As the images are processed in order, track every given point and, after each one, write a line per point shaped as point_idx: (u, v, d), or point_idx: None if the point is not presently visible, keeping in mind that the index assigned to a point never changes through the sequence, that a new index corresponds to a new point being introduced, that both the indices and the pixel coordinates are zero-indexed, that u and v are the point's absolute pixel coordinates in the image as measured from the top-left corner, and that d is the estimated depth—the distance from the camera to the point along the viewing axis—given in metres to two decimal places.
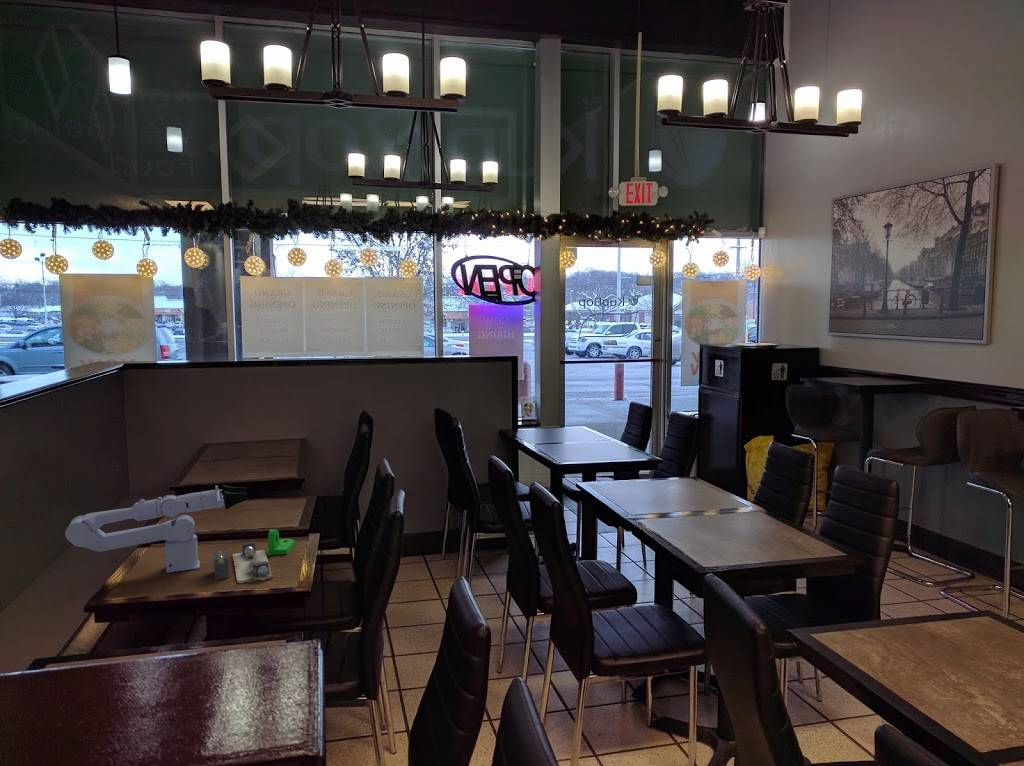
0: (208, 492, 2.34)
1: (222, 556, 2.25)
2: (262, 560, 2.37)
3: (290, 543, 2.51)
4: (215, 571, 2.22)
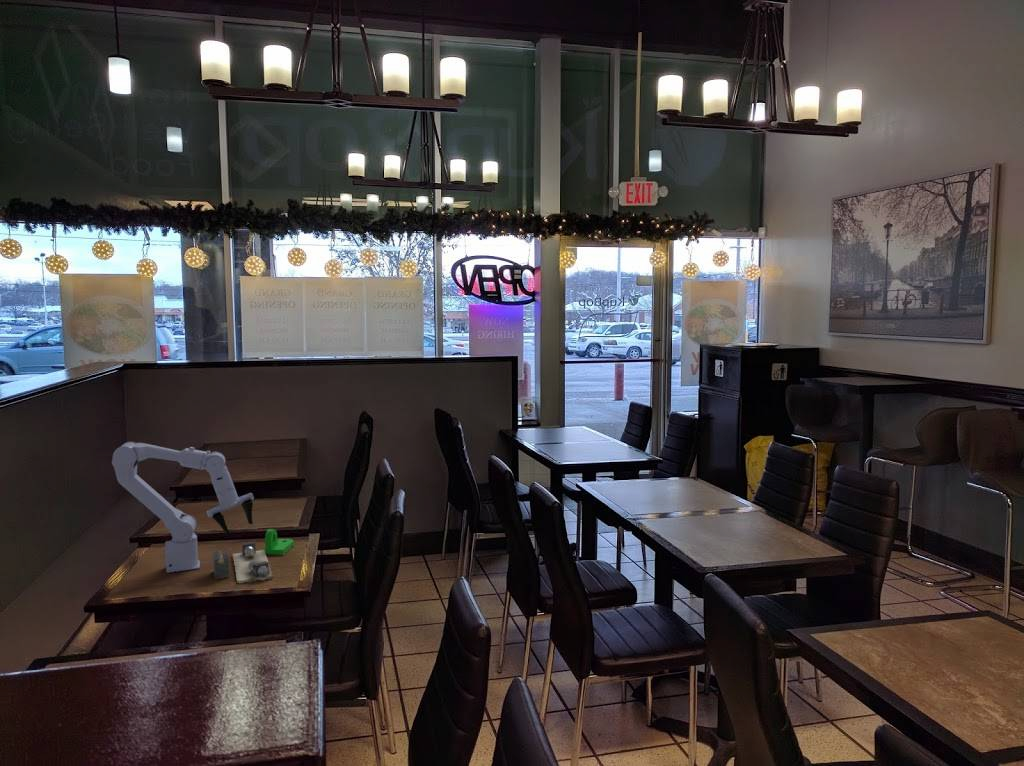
0: (226, 497, 2.33)
1: (222, 556, 2.25)
2: (262, 560, 2.37)
3: (288, 543, 2.51)
4: (215, 571, 2.22)
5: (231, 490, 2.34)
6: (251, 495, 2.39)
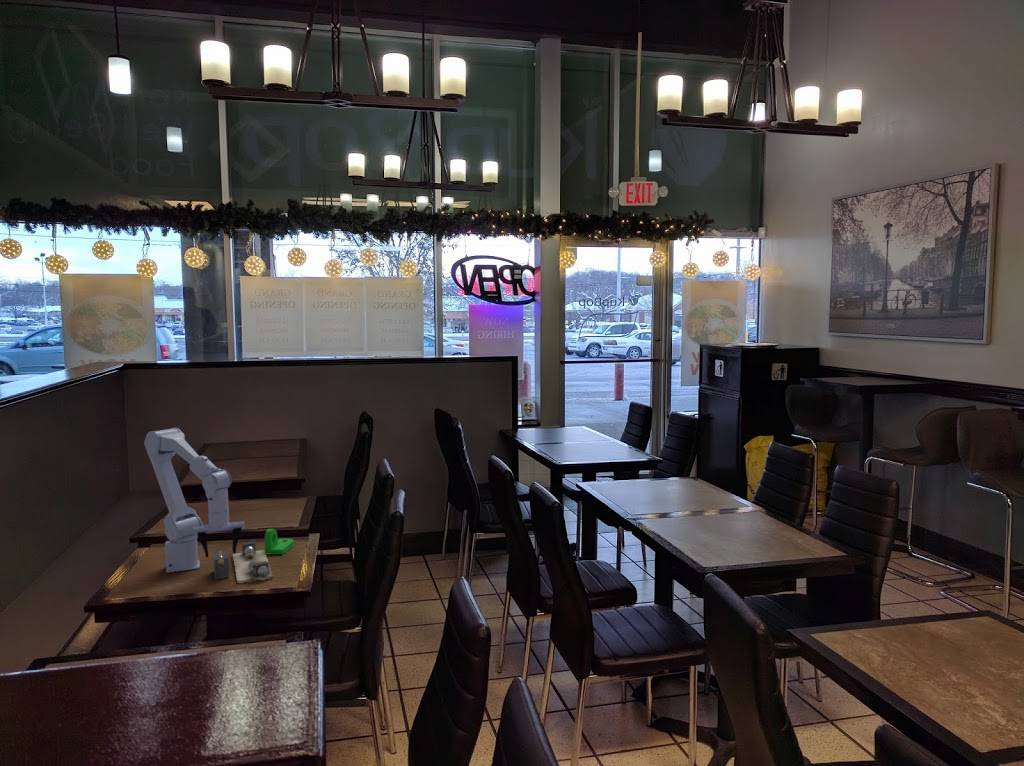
0: (215, 520, 2.22)
1: (222, 556, 2.25)
2: (262, 560, 2.37)
3: (288, 543, 2.51)
4: (215, 571, 2.22)
5: (223, 514, 2.23)
6: (243, 524, 2.27)
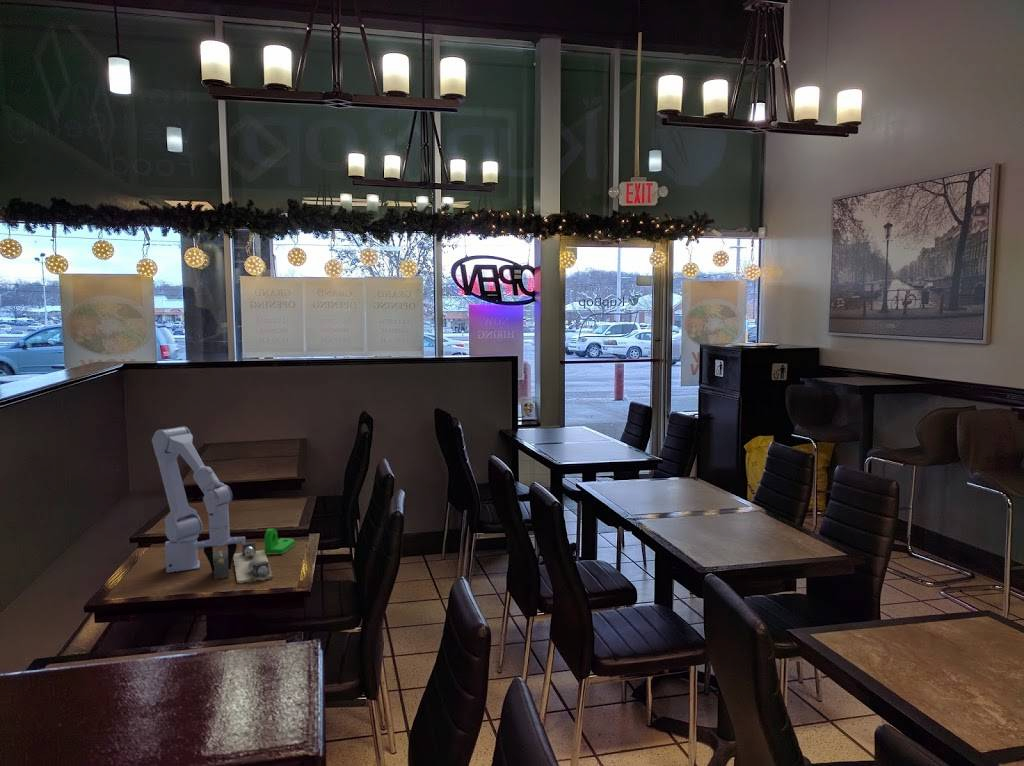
0: (215, 535, 2.23)
1: (222, 556, 2.25)
2: (262, 560, 2.37)
3: (288, 543, 2.51)
4: (215, 571, 2.22)
5: (223, 529, 2.23)
6: (243, 540, 2.27)
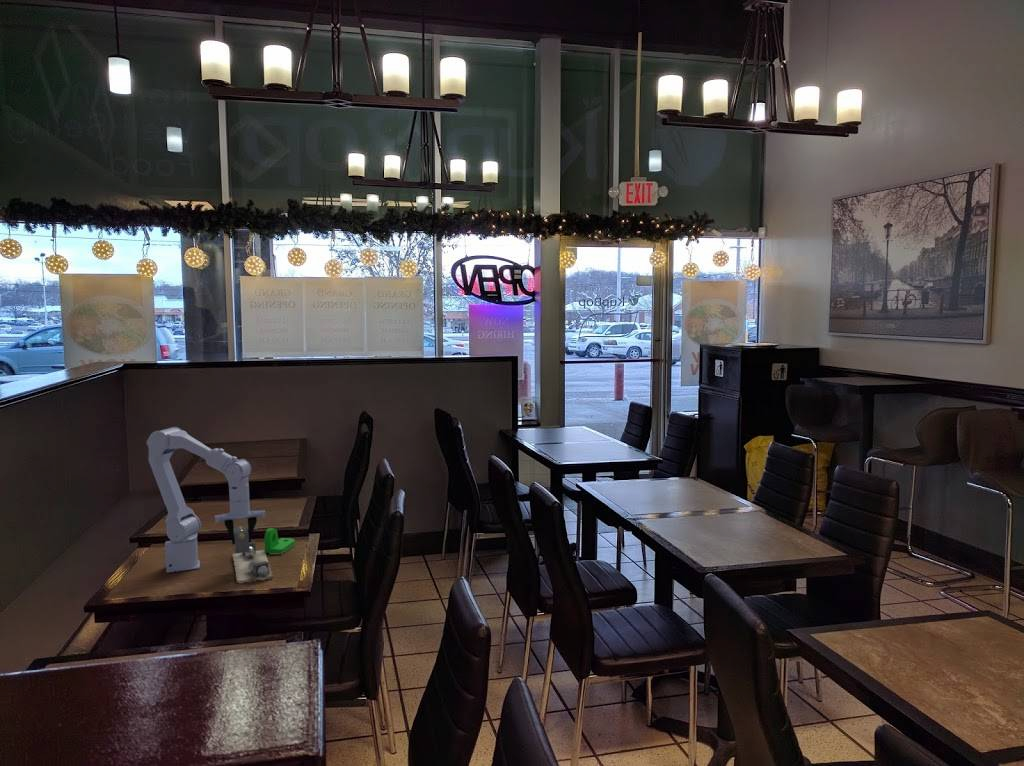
0: (236, 508, 2.26)
1: (243, 531, 2.28)
2: (262, 560, 2.37)
3: (289, 543, 2.52)
4: (236, 545, 2.26)
5: (244, 503, 2.27)
6: (263, 513, 2.31)
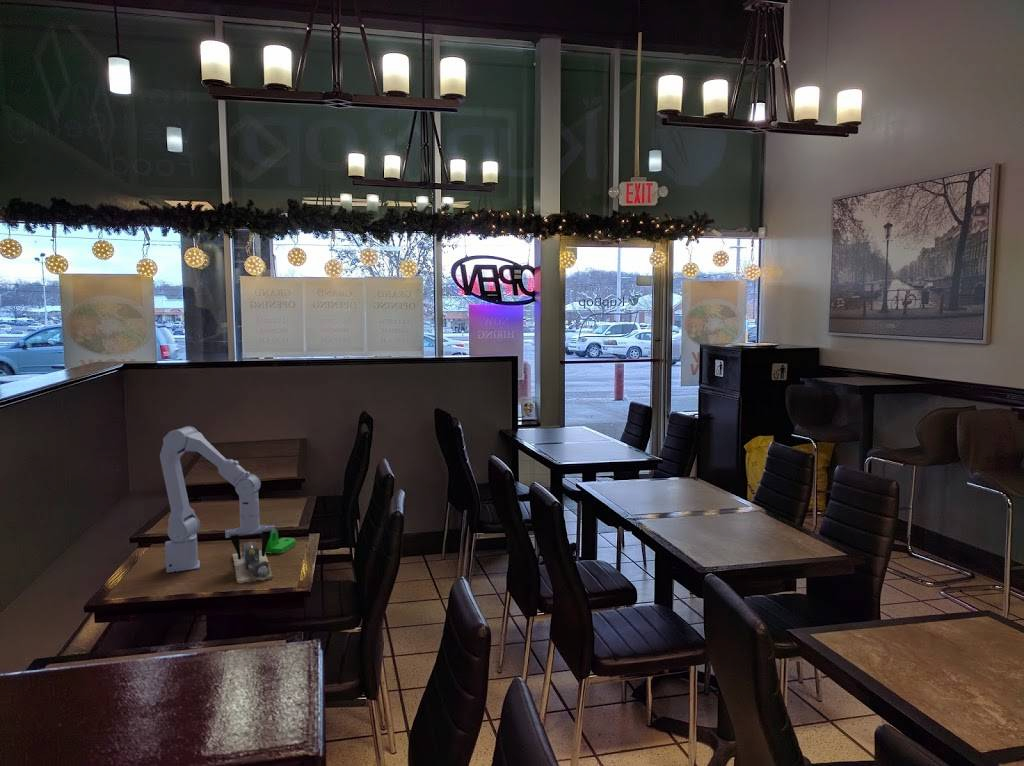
0: (246, 523, 2.29)
1: (253, 546, 2.31)
2: (262, 560, 2.37)
3: (289, 542, 2.52)
4: (246, 561, 2.28)
5: (254, 518, 2.30)
6: (273, 528, 2.34)
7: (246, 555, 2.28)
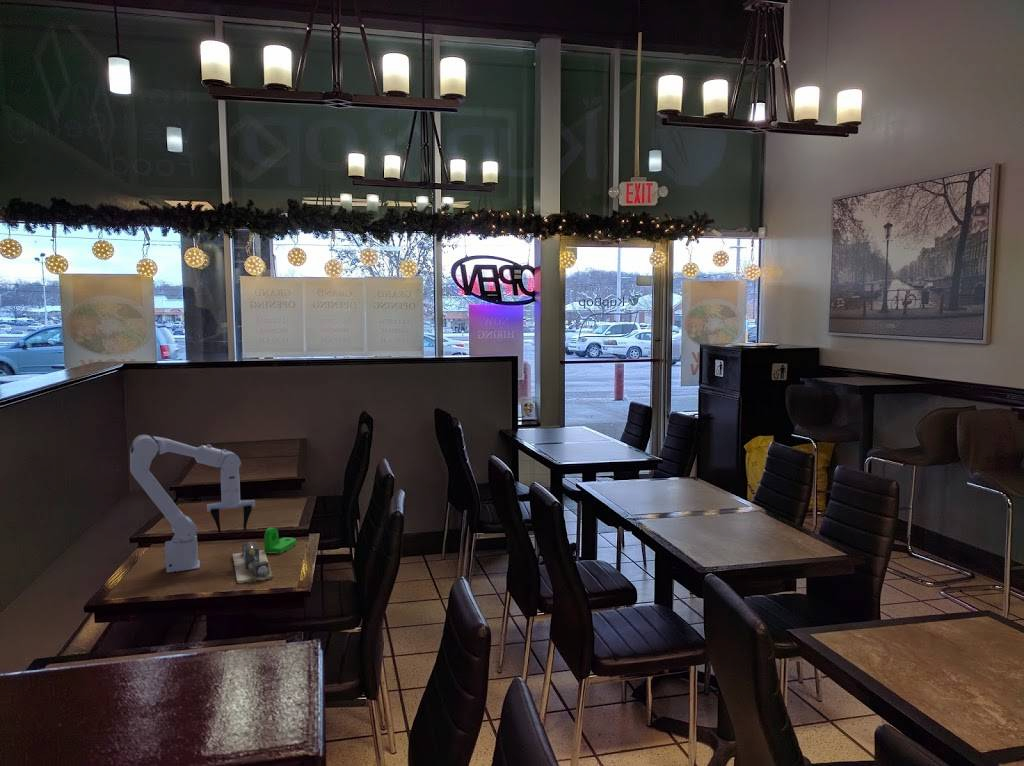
0: (227, 498, 2.37)
1: (253, 546, 2.31)
2: (262, 560, 2.37)
3: (289, 542, 2.52)
4: (246, 561, 2.28)
5: (234, 492, 2.37)
6: (253, 502, 2.41)
7: (246, 555, 2.28)
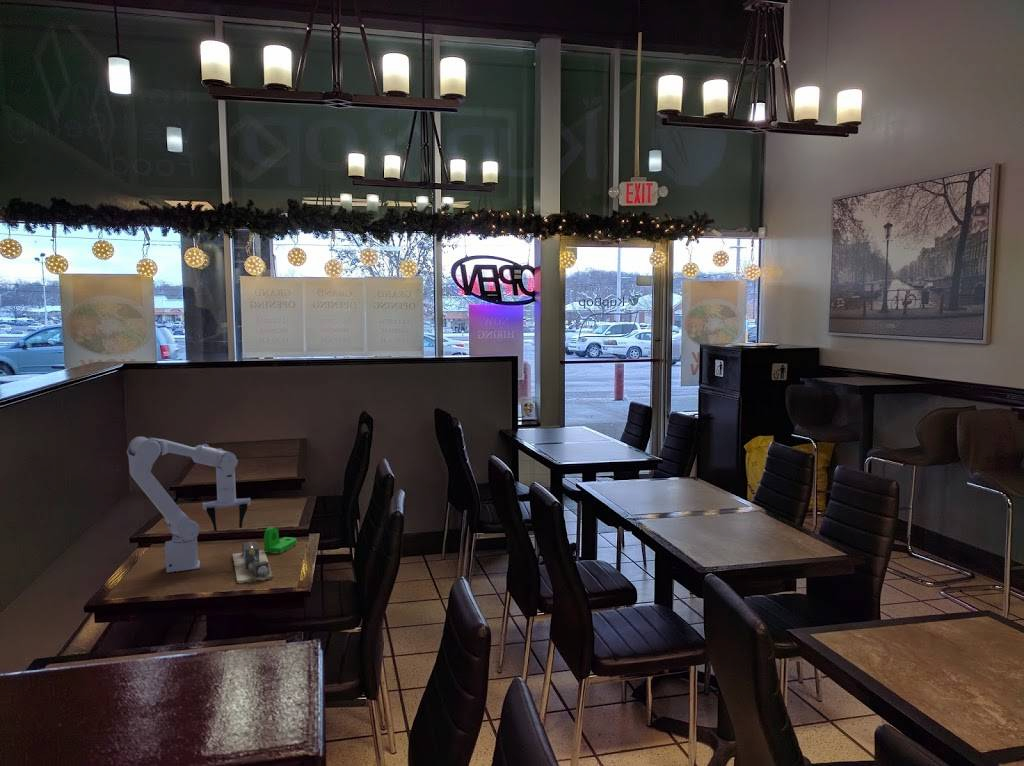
0: (223, 496, 2.39)
1: (253, 546, 2.31)
2: (262, 560, 2.37)
3: (289, 542, 2.52)
4: (246, 561, 2.28)
5: (230, 490, 2.39)
6: (248, 501, 2.43)
7: (246, 555, 2.28)
